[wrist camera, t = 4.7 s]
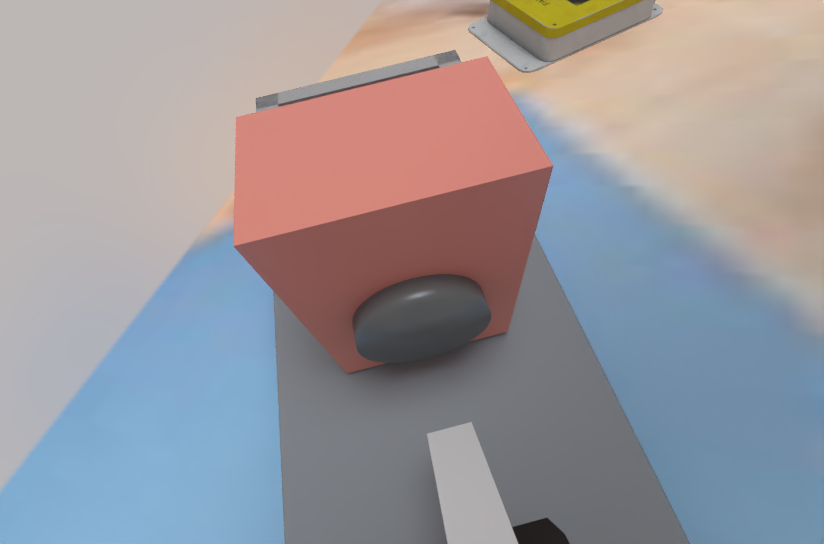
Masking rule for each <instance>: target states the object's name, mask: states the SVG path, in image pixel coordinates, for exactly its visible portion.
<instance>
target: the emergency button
mask: <svg viewBox="0 0 824 544" xmlns="http://www.w3.org/2000/svg"><path fill="white" fill-rule="evenodd" d="M662 9H663V8H662V7H661V6H659V5H657V4H655V0H490V5H489V12H488V17H485V18H483V19H480V20H478V21H476V22H474V23H472V24H470V26H469V28H468V30H469V32H470V33H471V34H473V35H474V36H475V37H476V38H478V39H479V40H480V41H481V42H483V43H484V44H485V45H487V46H488V47H489V48H490V49H492V50H493V51H494V52H495V53H497V54H498V55H499V56H501V57H502V58H503V59H504V60H506V61H507V62H508V63H509V64H511V65H512V66H513V67H514V68H516V69H517V70H518V71H521V72H525V73H530V72H534V71H537V70H539V69H542V68H544V67H546V66H548V65H551V64H553V63H555V62H557V61H559V60H562V59H564V58H566V57H568V56H571V55H573V54H575V53H577V52H579V51H582V50H584V49H586V48H588V47H591V46H593V45H595V44H597V43H599V42H602V41H604V40H606V39H608V38H611V37H613V36H615V35H617V34H619V33H622V32H624V31H626V30H628V29H631V28H633V27H635V26H637V25H639V24H642V23H644V22H646V21H648V20H651V19H653V18H655V17H657V16H659V15H660V14H661V13H662Z"/></svg>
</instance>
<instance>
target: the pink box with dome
mask: <svg viewBox="0 0 824 544" xmlns="http://www.w3.org/2000/svg"><path fill="white" fill-rule="evenodd" d="M235 152H236V153H235V199H234V247H235V248H236V249H237V250H238V252H239V253H240V254H241V255H242V256H243V257H244V258H245V259H246V261H247V262H248V263H249V264H250V265H251V266H252V267H253V268H254V270H255V271H256V272H257V273H258V274H259V275H260V276H261V277H262V279H263V280H264V281H265V282H266V283H267V284H268V285H269V286H270V288H271V289H272V290H273V291H274V292H275V293H276V294H277V295H278V297H279V298H280V299H281V300H282V301H283V302H284V303H285V304H286V306H287V307H288V308H289V309H290V310H291V311H292V312H293V313H294V315H295V316H296V317H297V318H298V319H299V320H300V321H301V322H302V324H303V325H304V326H305V327H306V328H307V329H308V330H309V331H310V333H311V334H312V335H313V336H314V337H315V338H316V339H317V340H318V342H319V343H320V344H321V345H322V346H323V347H324V348H325V349H326V351H327V352H328V353H329V354H330V355H331V356H332V357H333V358H334V360H335V361H336V362H337V363H338V364H339V365H340V366H341V367H342V369H343V370H344V371H345V372H346V373H351V372H355V371H359V370H363V369H367V368H370V367H374V366H378V365H382V364H386V363H400V362H409V361H416V360H421V359H425V358H430V357H433V356H437V355H440V354H443V353H446V352H448V351H451V350H453V349H456V348H458V347H460V346H462V345H464V344H466V343H468V342H470V341H474V340H478V339H482V338H485V337H489V336H493V335H497V334H501V333H505V332H508V330H509V326H510V322H511V319H512V315H513V311H514V308H515V304H516V300H517V297H518V293H519V289H520V286H521V282H522V278H523V275H524V271H525V267H526V264H527V260H528V256H529V253H530V249H531V245H532V242H533V238H534V234H535V231H536V227H537V223H538V220H539V216H540V212H541V209H542V205H543V201H544V198H545V194H546V190H547V187H548V183H549V179H550V176H551V172H552V168H553V165H552V163H551V161H550V160H549V158H548V156H547V155H546V153H545V151H544V150H543V148H542V146H541V145H540V143H539V141H538V140H537V138H536V136H535V135H534V133H533V132H532V130H531V128H530V127H529V125H528V123H527V122H526V120H525V118H524V117H523V115H522V113H521V112H520V110H519V108H518V107H517V105H516V103H515V102H514V100H513V98H512V97H511V95H510V93H509V92H508V90H507V88H506V87H505V85H504V84H503V82H502V80H501V79H500V77H499V75H498V74H497V72H496V70H495V69H494V67H493V65H492V64H491V62H490V60H489V59H488V57H483V58H478V59H474V60H470V61H466V62H462V63H458V64H454V65H450V66H446V67H441V68H437V69H433V70H429V71H425V72H421V73H417V74H413V75H409V76H404V77H400V78H396V79H392V80H388V81H384V82H380V83H376V84H372V85H367V86H363V87H359V88H355V89H351V90H347V91H343V92H339V93H335V94H330V95H326V96H322V97H318V98H314V99H310V100H306V101H302V102H298V103H293V104H289V105H285V106H281V107H277V108H273V109H269V110H265V111H261V112H256V113H252V114H248V115H244V116H240V117H236V149H235Z"/></svg>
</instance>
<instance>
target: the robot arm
mask: <svg viewBox="0 0 824 544" xmlns="http://www.w3.org/2000/svg"><path fill="white" fill-rule="evenodd" d="M427 437H428V442H429V448H430V453H431V458H432V463H433V469H434V474H435V479H436V485H437V490H438V495H439V500H440V506H441V511H442V516H443V522H444V527H445V532H446V537H447V543H448V544H570V543H569V541H568V539H567V537H566V535H565V533H563V532H562V531H561V530H560V529H559V528H558V527H557V526H556V525H555V524H554V523H553V522H551V521H550V520H549V519H548V518H543V519H540V520H536V521H532V522H529V523H525V524H521V525H518V526H514V527H512V526H511V523H510V521H509V518H508V516H507V513H506V510H505V508H504V505H503V503H502V500H501V497H500V495H499V492H498V490H497V487H496V484H495V482H494V479H493V477H492V474H491V471H490V469H489V466H488V464H487V461H486V458H485V456H484V453H483V451H482V448H481V445H480V443H479V440H478V438H477V435H476V432H475V430H474V427H473V425H472V422H469V423H465V424H462V425H458V426H454V427H450V428H447V429H443V430H439V431H435V432H432V433H428V434H427Z"/></svg>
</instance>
